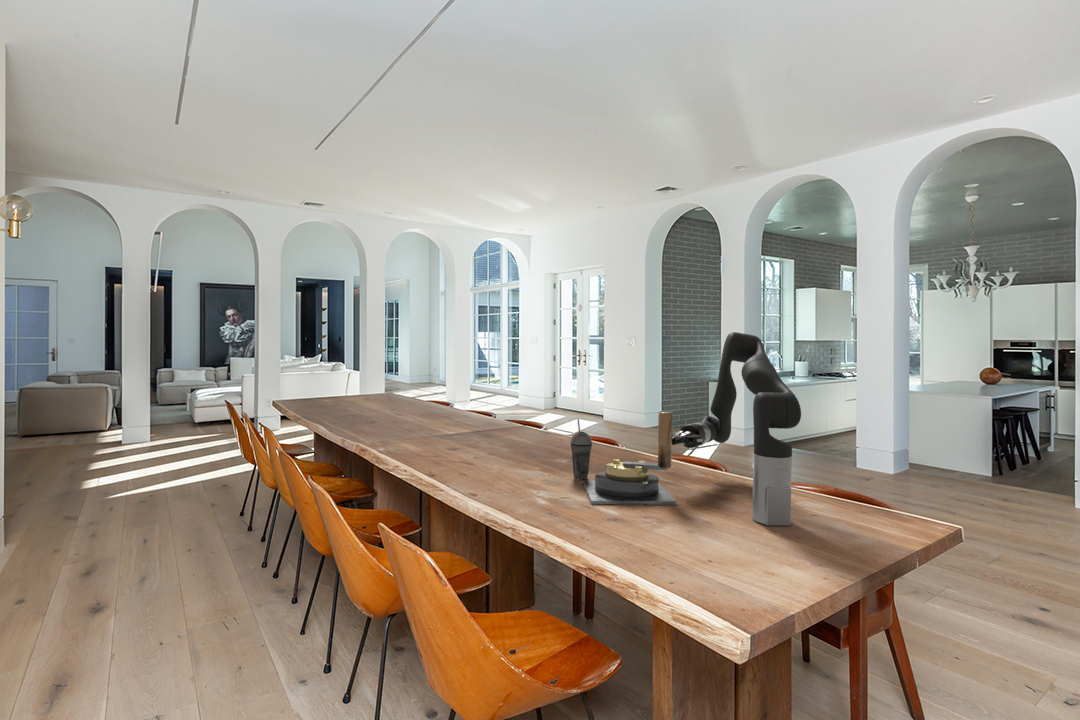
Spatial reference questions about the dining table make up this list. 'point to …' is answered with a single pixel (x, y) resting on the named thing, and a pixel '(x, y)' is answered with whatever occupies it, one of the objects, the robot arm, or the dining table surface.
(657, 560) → the dining table surface
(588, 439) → the beverage cup
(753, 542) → the dining table surface
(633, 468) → the brass crank handle
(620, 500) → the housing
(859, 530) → the dining table surface
